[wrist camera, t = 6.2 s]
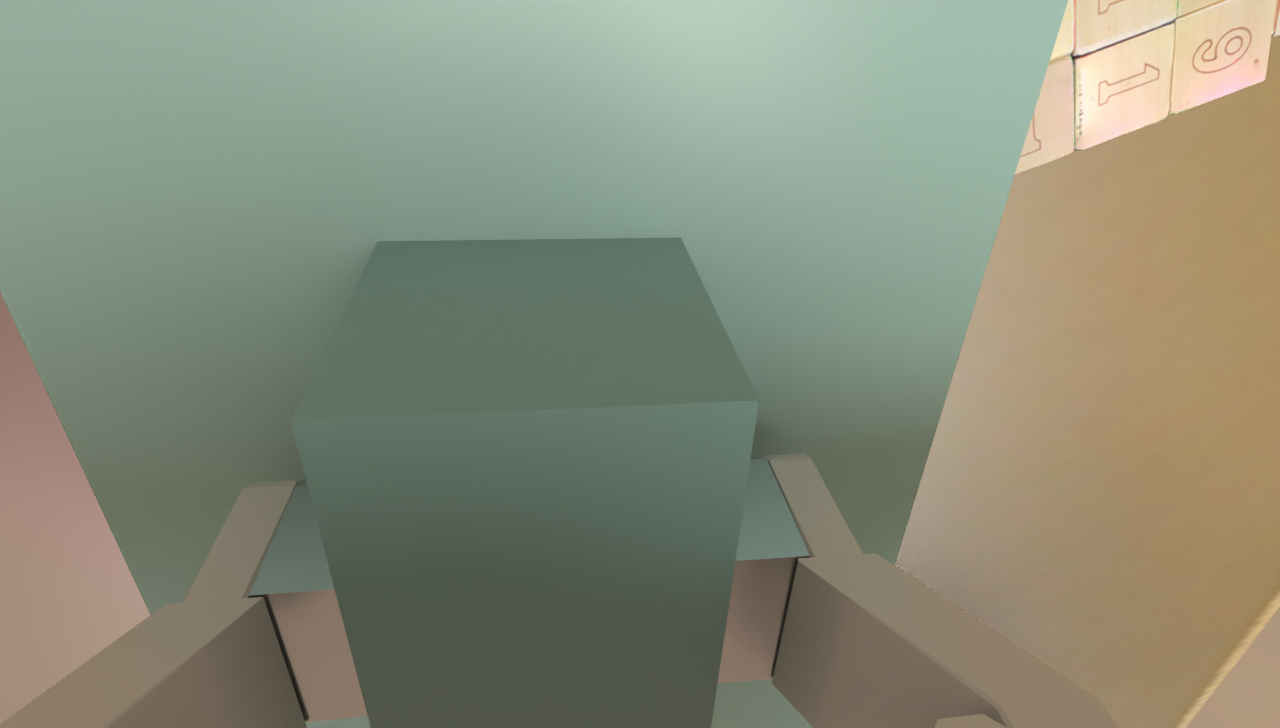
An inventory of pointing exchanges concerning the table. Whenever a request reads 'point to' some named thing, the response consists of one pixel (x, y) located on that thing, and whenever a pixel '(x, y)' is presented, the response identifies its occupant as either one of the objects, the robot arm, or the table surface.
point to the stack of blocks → (1143, 67)
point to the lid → (507, 303)
